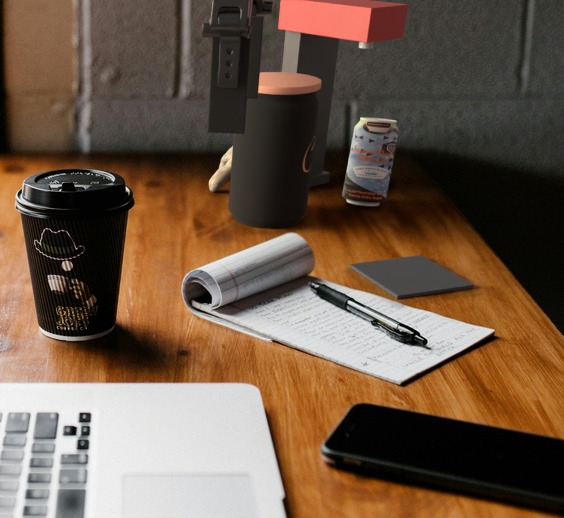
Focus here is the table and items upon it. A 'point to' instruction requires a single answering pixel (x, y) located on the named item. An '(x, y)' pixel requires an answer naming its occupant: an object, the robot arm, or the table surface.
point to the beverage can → (370, 161)
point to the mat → (410, 276)
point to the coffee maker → (332, 47)
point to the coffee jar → (275, 152)
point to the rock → (222, 172)
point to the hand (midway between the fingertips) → (234, 114)
